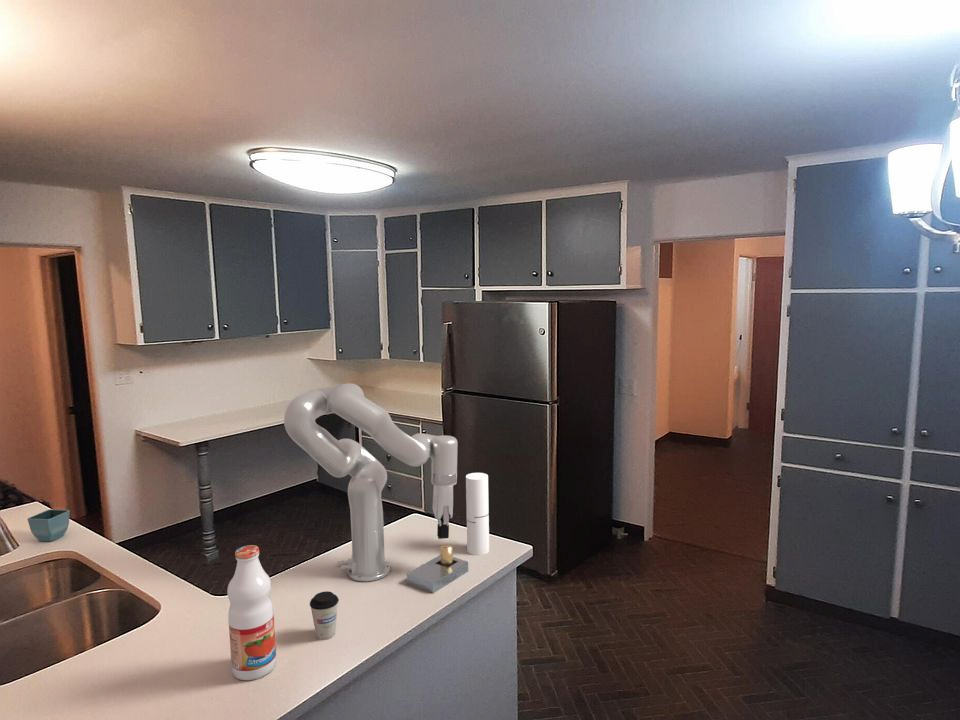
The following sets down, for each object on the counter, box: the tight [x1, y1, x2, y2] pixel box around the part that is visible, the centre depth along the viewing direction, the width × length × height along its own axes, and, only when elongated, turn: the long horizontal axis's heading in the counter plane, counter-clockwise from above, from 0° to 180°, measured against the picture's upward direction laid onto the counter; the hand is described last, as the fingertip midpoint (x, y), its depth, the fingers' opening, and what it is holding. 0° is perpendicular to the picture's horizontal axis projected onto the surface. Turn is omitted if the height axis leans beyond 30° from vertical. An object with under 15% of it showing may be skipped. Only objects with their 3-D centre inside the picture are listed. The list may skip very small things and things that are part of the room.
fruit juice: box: [226, 544, 277, 681], centre depth 131 cm, size 9×9×28 cm
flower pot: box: [27, 509, 70, 542], centre depth 205 cm, size 9×9×9 cm
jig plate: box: [406, 554, 469, 594], centre depth 173 cm, size 16×10×3 cm, turn 143°
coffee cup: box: [309, 590, 340, 641], centre depth 145 cm, size 7×7×10 cm
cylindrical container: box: [465, 472, 490, 556], centre depth 190 cm, size 7×7×25 cm
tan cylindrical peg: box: [439, 543, 454, 568], centre depth 176 cm, size 4×4×8 cm
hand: (442, 537), depth 176 cm, fingers closed
